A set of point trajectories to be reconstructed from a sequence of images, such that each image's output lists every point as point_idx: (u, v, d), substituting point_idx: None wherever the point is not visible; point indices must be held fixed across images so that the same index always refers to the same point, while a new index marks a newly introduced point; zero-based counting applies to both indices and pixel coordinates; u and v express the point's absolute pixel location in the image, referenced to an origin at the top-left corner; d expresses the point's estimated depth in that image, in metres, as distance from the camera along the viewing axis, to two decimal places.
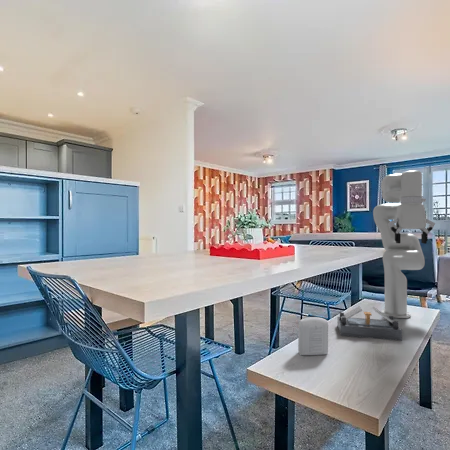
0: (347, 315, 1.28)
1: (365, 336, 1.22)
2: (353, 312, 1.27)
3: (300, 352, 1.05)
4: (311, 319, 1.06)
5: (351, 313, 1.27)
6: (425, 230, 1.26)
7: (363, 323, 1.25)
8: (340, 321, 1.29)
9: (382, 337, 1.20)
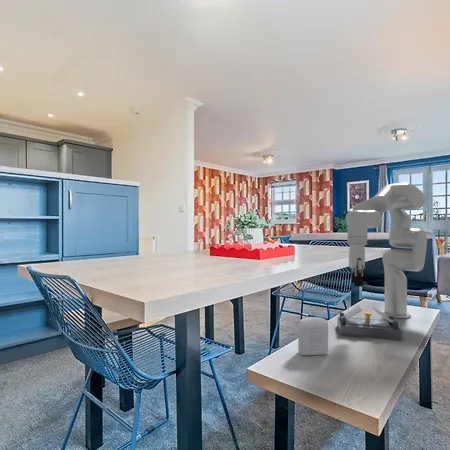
0: (347, 315, 1.28)
1: (365, 336, 1.22)
2: (353, 312, 1.27)
3: (300, 352, 1.05)
4: (311, 319, 1.06)
5: (351, 313, 1.27)
6: None
7: (363, 323, 1.25)
8: (340, 321, 1.29)
9: (382, 337, 1.20)
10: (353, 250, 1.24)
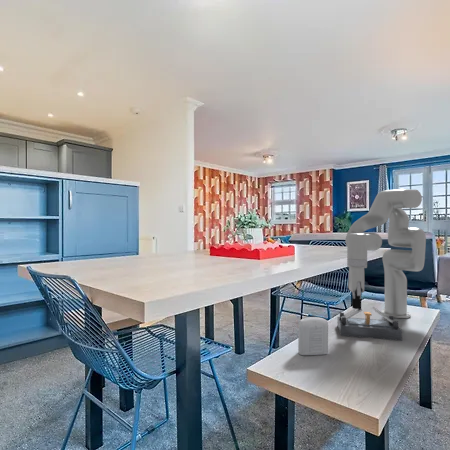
0: (347, 315, 1.28)
1: (365, 336, 1.22)
2: (353, 312, 1.27)
3: (300, 352, 1.05)
4: (311, 319, 1.06)
5: (351, 313, 1.27)
6: None
7: (363, 323, 1.25)
8: (340, 321, 1.29)
9: (382, 337, 1.20)
10: (353, 273, 1.24)
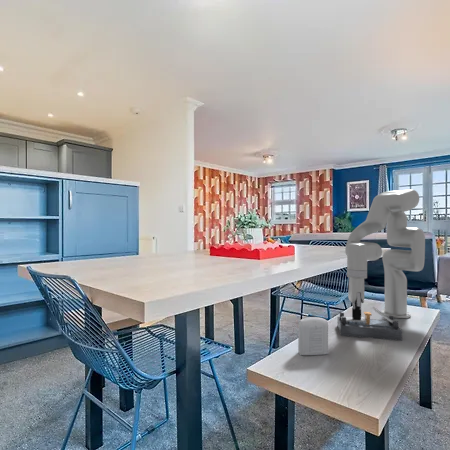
0: (349, 318, 1.28)
1: (365, 336, 1.22)
2: (356, 319, 1.27)
3: (300, 352, 1.05)
4: (311, 319, 1.06)
5: (354, 319, 1.27)
6: None
7: (363, 323, 1.25)
8: (340, 321, 1.29)
9: (382, 337, 1.20)
10: (353, 284, 1.24)
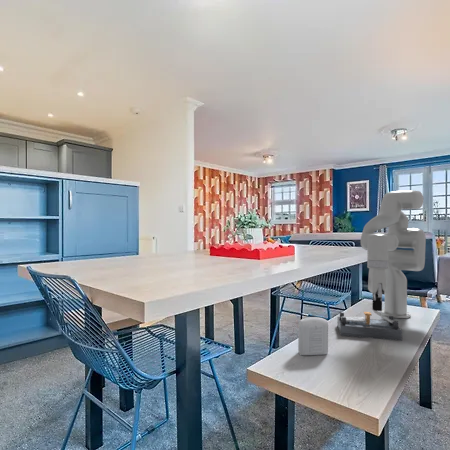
0: (349, 318, 1.28)
1: (365, 336, 1.22)
2: (356, 319, 1.27)
3: (300, 352, 1.05)
4: (311, 319, 1.06)
5: (354, 319, 1.27)
6: None
7: (363, 323, 1.25)
8: (340, 321, 1.29)
9: (382, 337, 1.20)
10: (374, 275, 1.22)
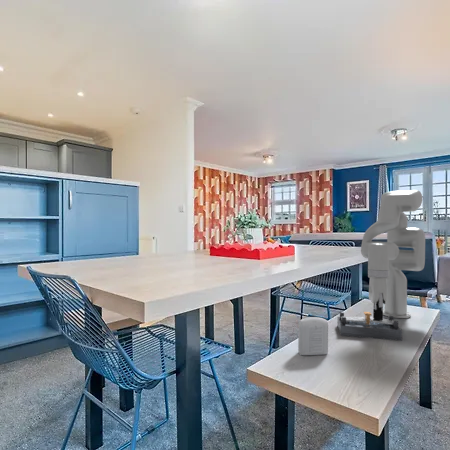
0: (349, 318, 1.28)
1: (365, 336, 1.22)
2: (356, 319, 1.27)
3: (300, 352, 1.05)
4: (311, 319, 1.06)
5: (354, 319, 1.27)
6: None
7: (363, 323, 1.25)
8: (340, 321, 1.29)
9: (382, 337, 1.20)
10: (375, 284, 1.22)
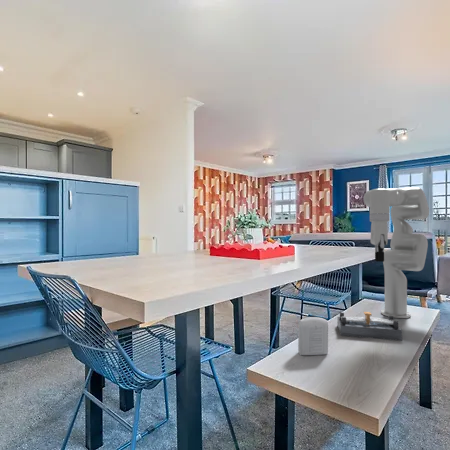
0: (349, 318, 1.28)
1: (365, 336, 1.22)
2: (356, 319, 1.27)
3: (300, 352, 1.05)
4: (311, 319, 1.06)
5: (354, 319, 1.27)
6: None
7: (363, 323, 1.25)
8: (340, 321, 1.29)
9: (382, 337, 1.20)
10: (376, 227, 1.29)
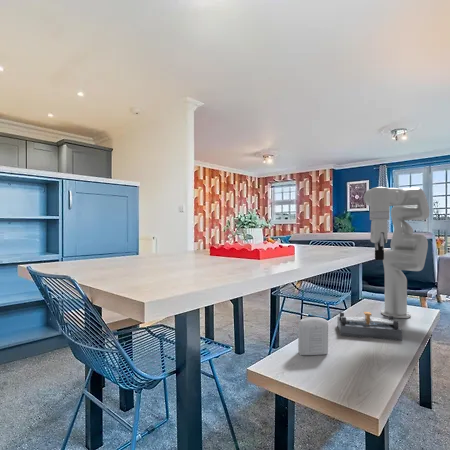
0: (349, 318, 1.28)
1: (365, 336, 1.22)
2: (356, 319, 1.27)
3: (300, 352, 1.05)
4: (311, 319, 1.06)
5: (354, 319, 1.27)
6: None
7: (363, 323, 1.25)
8: (340, 321, 1.29)
9: (382, 337, 1.20)
10: (376, 225, 1.29)
